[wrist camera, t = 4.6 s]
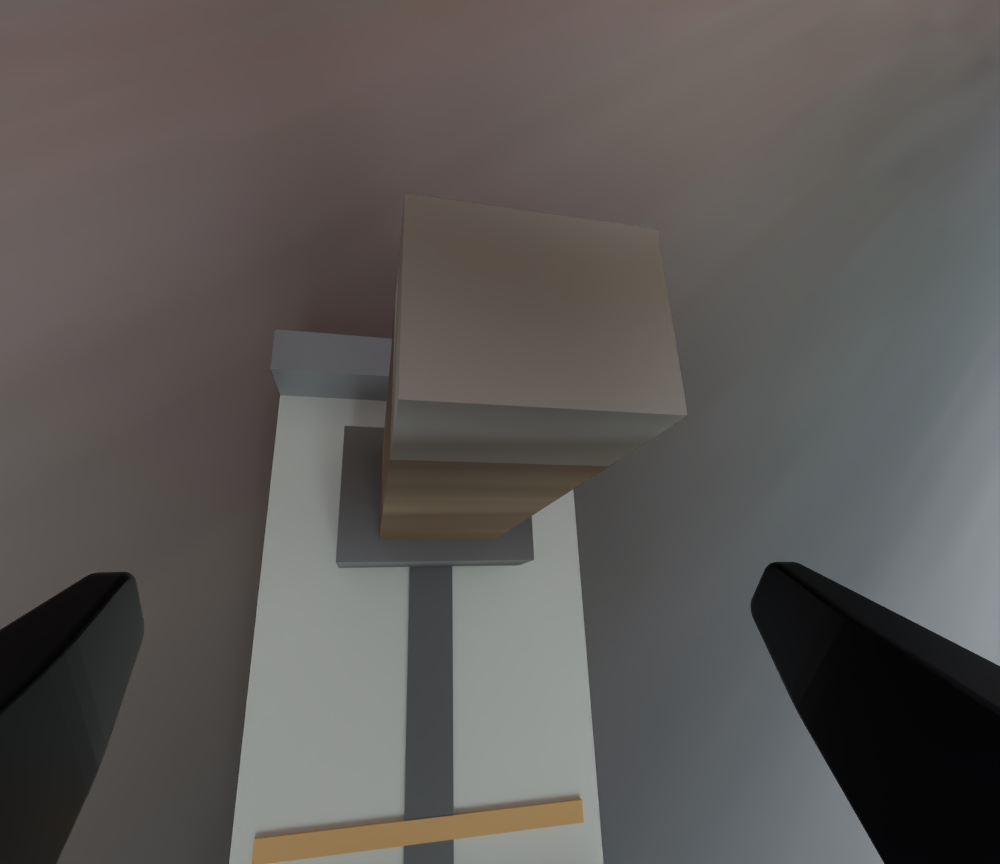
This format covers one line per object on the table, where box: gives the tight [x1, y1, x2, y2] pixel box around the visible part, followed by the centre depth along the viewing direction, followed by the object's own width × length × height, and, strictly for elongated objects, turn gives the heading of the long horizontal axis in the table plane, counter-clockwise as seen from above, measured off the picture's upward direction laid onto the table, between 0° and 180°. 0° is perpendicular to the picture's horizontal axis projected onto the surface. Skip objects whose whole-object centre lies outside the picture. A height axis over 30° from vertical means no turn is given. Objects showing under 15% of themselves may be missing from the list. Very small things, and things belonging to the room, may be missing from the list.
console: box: [229, 329, 603, 864], centre depth 15 cm, size 17×9×4 cm, turn 1°
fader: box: [336, 193, 688, 568], centre depth 11 cm, size 4×5×11 cm
